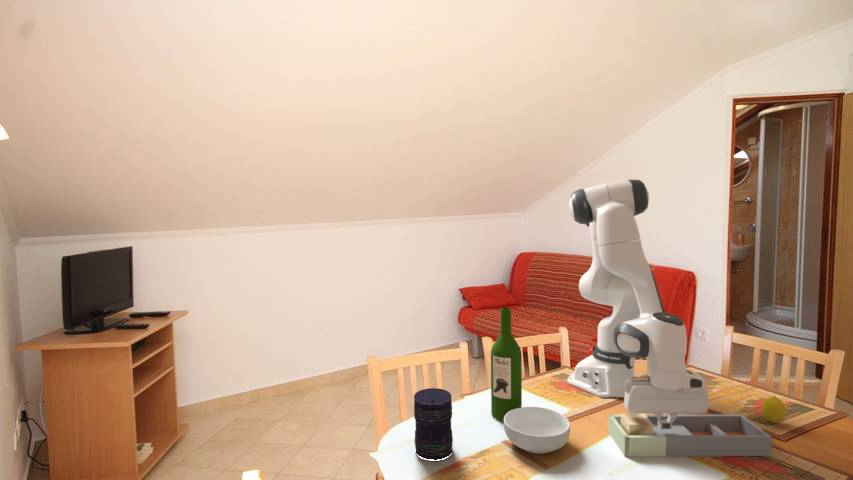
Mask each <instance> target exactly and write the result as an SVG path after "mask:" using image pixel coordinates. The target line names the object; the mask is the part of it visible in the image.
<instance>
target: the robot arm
mask: <svg viewBox="0 0 853 480" xmlns="http://www.w3.org/2000/svg"><path fill="white" fill-rule="evenodd" d="M569 197H570V199H569V203H568V211H569V213H570V216H571V217H572V218H573V220H574V221H575V222H576V223H578V224H579V225H580V224H581V225H586V227H589V234H590V241H591V242H590V243H591V251H592V261H591V265H590V267H589V269H588V270H587V271H586V272H585V273H583V274H582V276H581V277H580V279H579V282H578V291H579V293H580V295H581V297H582V298H584V299H585V300H587V301H590V302H593V303H595V304H600V305H603V306H608V307H609V306H610V307H612V314H611V315H610V316H609V315H608V316H607V317H604V318H602V319H601V320H600V322H599V323H598V326H597V343H596V344H594V345H593V346H592V347H590V348H589V351H590V352H592V354H591V355H589V356H587V357H585V358H584V359H582V360H581V361H579V362H577V364H576V365H575V369H574V372H573V373H571V374H570V375H569V376H568V377H567V381H566V382H567V384H570V385H571V386H574V387H576V388H578V389H581V390H582V391H585V392H588V393H590V394H593V395H595V396H597V397H600V398H623V406H624V408H625V409H626V410H627V412H629V414H641V413H644V414H652V415H655V417H656V419H657V420H658V427H659V428H660V429H672V423H673V422H674V420H675V419H676V418H677V415H678V414H683V415H705V414H706V413H707V412H708V411H709V409H710V405H709V404H710V403H709V402H710V401H709V392H708V391H707V388H706V387H707V381H706V379H705V378H703V377H702V376H701V375H700V374H698V373H696V372H695V371H693V370H691V369H687V366H686V365H687V364H686V362H685V357H686V354H687V345H688V344H687V343H688V342H687V340H688V339H687V329H686V325H685V323H684V320H682V318H680V317H678V316H677V315H674V314H673V313H668V312H666V311H665V307H664V305H663V302H662V297H661V295H660V294H661V293H660V291H659V290H660V289H659V287H658V284H657V281H656V277H655V275H654V272H653V269H652V267H651V265H650V263H649V261H648V260H647V258H646V255H645V252H644V249H643V245H642V241H641V236H640V231H639V228H638V225H637V221H636V218H635V216H639V215H641V214H643V213H645V211H646V210H647V209H648V207H649V203H650V193H649V190H648V188H647V187H646V185H645V183H644V182H643V181H641V180H640V179H627V180H620V181H619V180H618V181H609V182H605V183H603V184H598V185H594V186H591V187H587V188H579V189H577V190H575V191H572V192H571V194H570V196H569ZM636 359H646V360H647V373H646V374H647V376H636V375H635V368H634V367H635V363H636ZM663 414H667V415H669V416H668V418H667V420H661V418H660V417H662V415H663Z"/></svg>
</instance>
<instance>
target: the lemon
mask: <svg viewBox="0 0 853 480" xmlns="http://www.w3.org/2000/svg"><path fill="white" fill-rule="evenodd" d="M761 414H762V416H763V417H764V418H765V419H766V421H768V422H770V424H772V423H773V425H775V424H776V423H780V422H783V421H784V420H785V418H786V415H787V409H786V406H785V403H784V402H783V400H781V399H780V398H778V397H777V396H776V395H775V396H774V395H771V396H768V397H766V398H764V400H763V401H762V403H761Z"/></svg>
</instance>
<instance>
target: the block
mask: <svg viewBox="0 0 853 480" xmlns="http://www.w3.org/2000/svg"><path fill="white" fill-rule="evenodd" d="M620 415H621V420H620V426H621V427H622V428H623V430H624V431H625V432H626V434H627V435H653V423H652V422H651V421H650V420H649V419H648V418H647V417H646V416H645V415H646V414H645V413H620Z"/></svg>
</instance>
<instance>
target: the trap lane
mask: <svg viewBox="0 0 853 480" xmlns="http://www.w3.org/2000/svg"><path fill="white" fill-rule="evenodd" d="M644 415H645V416H646V417H647V418H648V419H649V420H650V421H651V422H652V423H653V435H627V434H626V432H625V431H624V430H623V428H622V427H621V426H620V420H621V414H608V429H607V430H608V434H609V435H610V436H611V438H612V440H613V442H614V443H615V445H616V446H617V447H618V449H619V450H620V452H621V454H622V455H623V456H624V457H626V458H627V457H628V458H629V457H634V458H635V457H636V458H637V457H645V458H646V457H650V458H651V457H653V458H654V457H656V458H657V457H663V456H664V457H663V458H665V457H666V458H667V457H673V458H675V457H679V458H680V457H682V458H683V457H685V456H686V457H688V458H689V457H692V458H693V457H699V458H701V457H715V458H719V457H724V456H762V457H764V456H765V458H766V457H769V458H770V457H772V444H773V442H772V441H773V436H771V435H770V434H769V433H767V432H766V431H764V430H763V429H762V428H760V427H759V426H758V425H756V423H754V422H753V421H751V420H750V419H748V418H747V417H746V416H745V415H744V414H739V413H737V414H736V413H735V414H733V413H732V414H730V413H729V414H727V413H725V414H723V413H722V414H720V413H718V414H677V418H676V419H675V420H674V422H673V423H672V429H660V428H659V427H658V420H657V419H656V417H655V415H654V414H644ZM668 416H669V414H662V417H660V418H661V420H667V418H668ZM686 457H685V458H686Z"/></svg>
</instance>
